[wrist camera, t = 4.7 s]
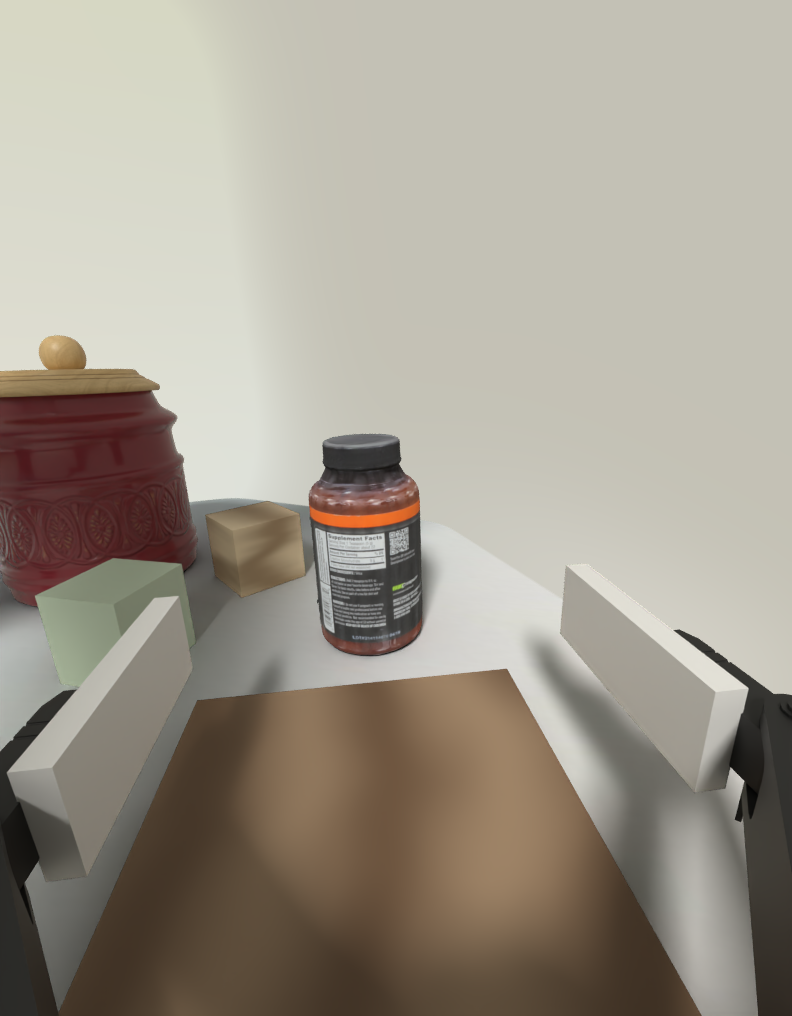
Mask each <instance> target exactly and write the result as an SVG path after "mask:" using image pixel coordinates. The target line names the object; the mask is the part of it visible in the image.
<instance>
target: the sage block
mask: <svg viewBox="0 0 792 1016" xmlns="http://www.w3.org/2000/svg"><path fill="white" fill-rule="evenodd" d="M172 596H179V598H180V603H181V608H182V614H183V619H184V624H185V629H186V635H187V640H188V645H189V649H190V648H191V647H192V646H193V645H194V644H195V643H196V640H195V634H194V629H193V623H192V618H191V612H190V607H189V601H188V596H187V591H186V585H185V580H184V574H183V569H182V564H177V563H165V562H153V561H141V560H128V559H116V558H113V559H111V560H108V561H106V562H104V563H102V564H100V565H98V566H96V567H94V568H92V569H90V570H88V571H86V572H83V573H81V574H79V575H77V576H75V577H73V578H71V579H69V580H67V581H65V582H63V583H61V584H58V585H56V586H54V587H52V588H50V589H48V590H46V591H44V592H42V593H40V594H38V595H35V598H36V602H37V605H38V608H39V612H40V615H41V619H42V622H43V625H44V629H45V632H46V635H47V639H48V642H49V646H50V649H51V652H52V656H53V659H54V663H55V666H56V669H57V673H58V676H59V680H60V683H61V684H65V685H71V686H77V687H80V685H81V684H82V683H83V682H84V681H85V679H86V678H87V677H88V676H89V675H90V674H91V672H92V671H93V670H94V669H95V668H96V666H97V665H98V664H99V663H100V662H101V660H102V659H103V658H104V657H105V656H106V655H107V653H108V652H109V651H110V650H111V649H112V647H113V646H114V645H115V644H116V643H117V642H118V640H119V639H120V638H121V637H122V636H123V634H124V633H125V632H126V631H127V630H128V629H129V627H130V626H131V625H132V624H133V623H134V621H135V620H136V619H137V618H138V617H139V616H140V614H141V613H142V612H143V611H144V610H145V608H146V607H147V606H148V605H149V604H150V602H151V601H152V600H153V599H154V598H160V597H172Z"/></svg>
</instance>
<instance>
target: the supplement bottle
mask: <svg viewBox="0 0 792 1016" xmlns="http://www.w3.org/2000/svg"><path fill="white" fill-rule="evenodd" d="M399 442H400V441H399V439H398V437H395V436H392V435H386V434H354V435H344V436H338V437H332V438H330V439H327V440H325V441H324V442H323V464H324V466H325V470H324V472H323V474H322V477H321V478H320V480H319V481H317V482H316V483H315V484H314V485H313V486H312V489H311V490H310V493H309V507H310V521H311V527H312V540H313V551H314V559H315V569H316V580H317V589H318V600H317V603H318V602H319V612H320V620H321V624H322V632H323V635H324V637H325V639H326V640H327V641H328V642H329V643H330V644H332V645H333V646H334V647H335V648H338V649H339V650H341V651H344V652H346V653H352V654H358V655H381V654H384V653H387V652H391V651H395V650H397V649H399V648H401V647H403V646H405V645H407V644H408V643H409V642H411V641H412V640H413V639H414V638H415V637H416V636H417V635H418V633H419V631H420V628H421V624H422V582H421V538H420V500H419V490H418V487H417V485H416V483H415V482H414V480H413V479H412V478H411V477H409V476H408V475H406V474H405V473H404V472H403V470H402V468H401V467H400V465H399V463H400V461H401V457H400V443H399Z"/></svg>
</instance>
